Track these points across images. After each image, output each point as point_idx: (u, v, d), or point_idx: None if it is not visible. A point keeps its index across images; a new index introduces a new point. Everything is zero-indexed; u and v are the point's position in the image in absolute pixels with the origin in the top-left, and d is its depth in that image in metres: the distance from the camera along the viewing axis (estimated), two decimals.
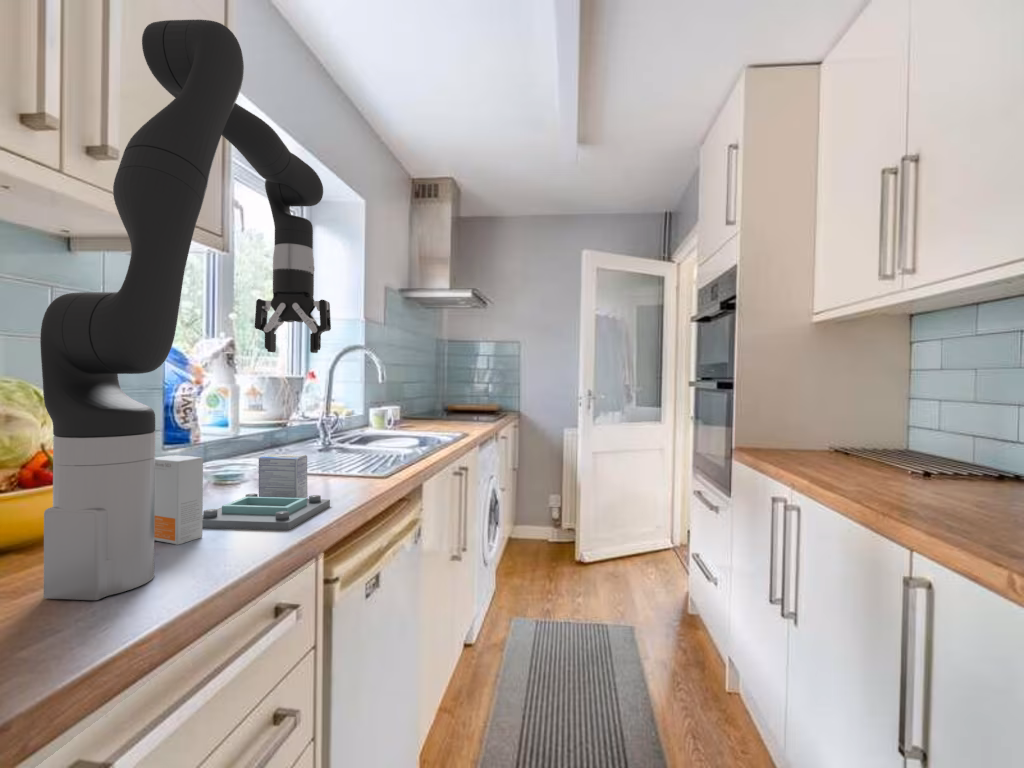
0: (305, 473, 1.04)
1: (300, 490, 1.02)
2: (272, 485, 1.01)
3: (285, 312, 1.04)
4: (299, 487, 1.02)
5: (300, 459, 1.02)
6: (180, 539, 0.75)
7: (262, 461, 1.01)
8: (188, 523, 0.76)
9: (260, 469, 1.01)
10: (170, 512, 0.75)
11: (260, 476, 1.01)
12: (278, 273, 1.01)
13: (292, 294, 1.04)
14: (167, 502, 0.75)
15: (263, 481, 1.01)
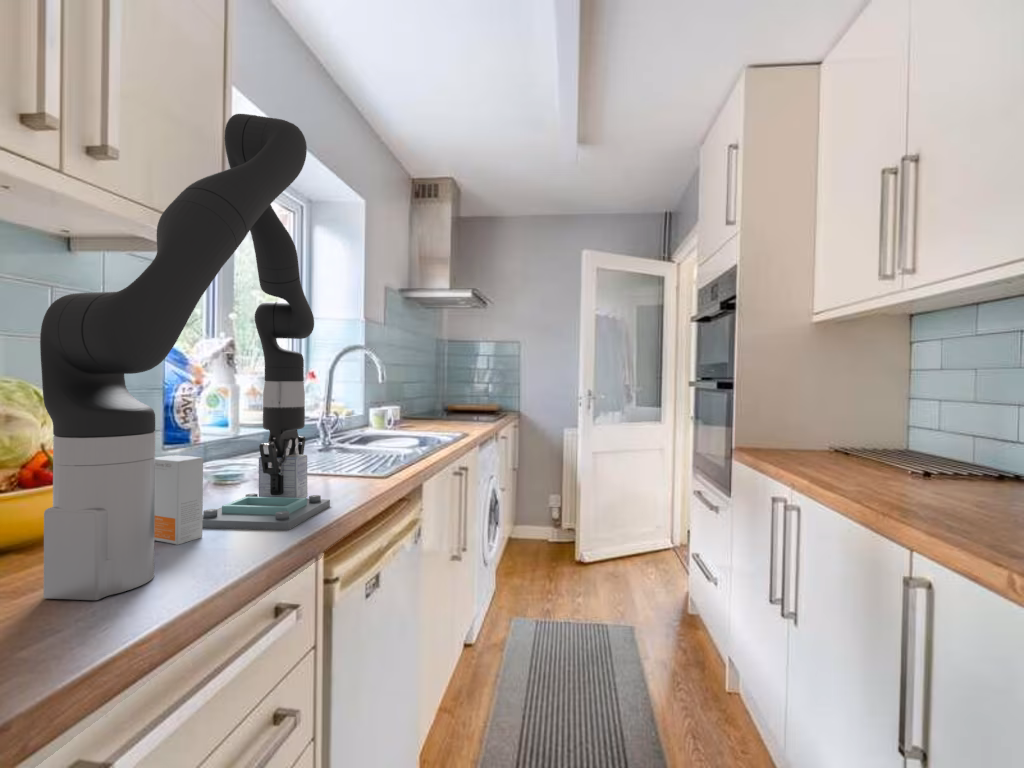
0: (305, 473, 1.04)
1: (300, 490, 1.02)
2: None
3: None
4: (299, 486, 1.02)
5: (300, 459, 1.02)
6: (180, 539, 0.75)
7: None
8: (188, 523, 0.76)
9: (260, 469, 1.01)
10: (170, 512, 0.75)
11: (260, 476, 1.01)
12: (297, 411, 1.02)
13: (290, 430, 1.04)
14: (167, 502, 0.75)
15: (263, 481, 1.01)
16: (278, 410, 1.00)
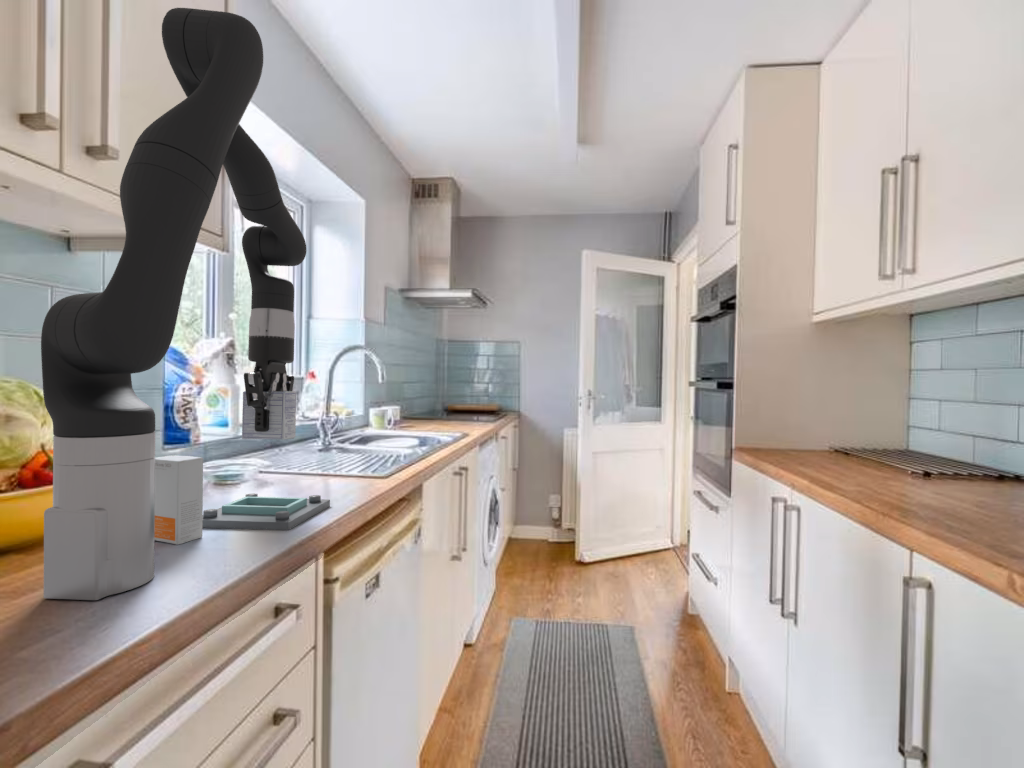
0: (293, 411, 0.96)
1: (287, 428, 0.94)
2: None
3: None
4: (286, 423, 0.94)
5: (288, 393, 0.94)
6: (180, 539, 0.75)
7: None
8: (188, 523, 0.76)
9: (244, 404, 0.94)
10: (170, 512, 0.75)
11: (244, 411, 0.94)
12: (286, 342, 0.94)
13: (278, 363, 0.96)
14: (167, 502, 0.75)
15: (247, 417, 0.93)
16: (265, 339, 0.92)
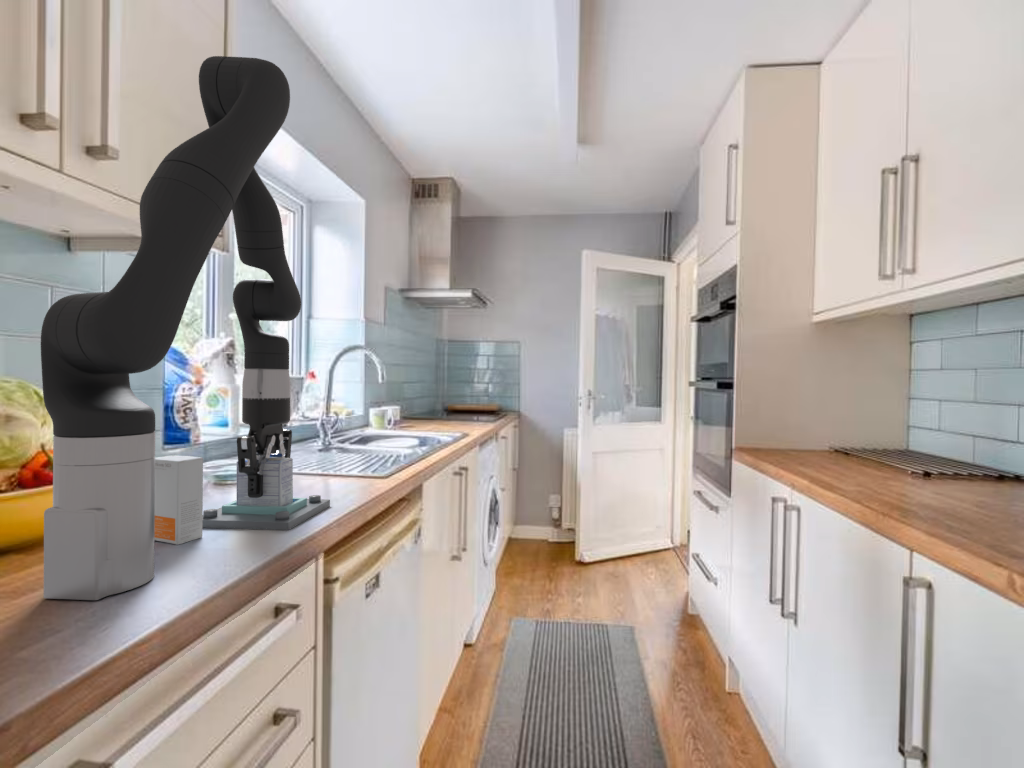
0: (290, 478, 0.92)
1: (284, 498, 0.90)
2: None
3: None
4: (283, 494, 0.89)
5: (284, 463, 0.90)
6: (180, 539, 0.75)
7: None
8: (188, 523, 0.76)
9: (238, 474, 0.89)
10: (170, 512, 0.75)
11: (238, 482, 0.89)
12: (281, 403, 0.89)
13: (274, 424, 0.91)
14: (167, 502, 0.75)
15: (242, 488, 0.89)
16: (259, 402, 0.87)
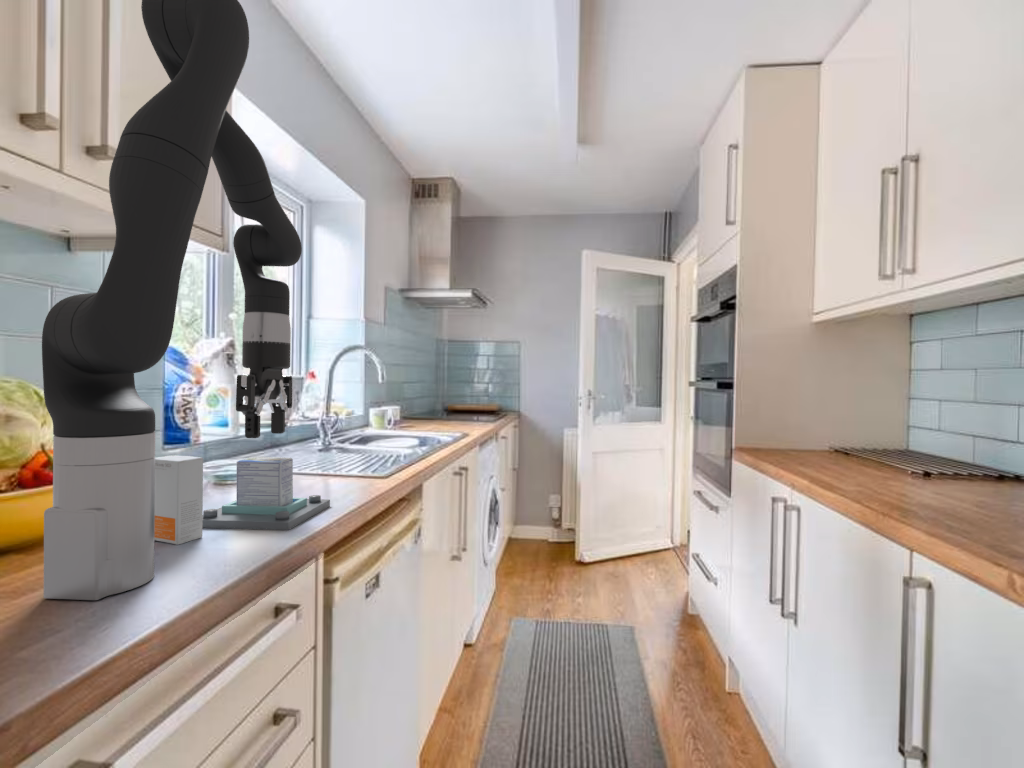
0: (290, 478, 0.92)
1: (284, 498, 0.90)
2: (253, 493, 0.89)
3: None
4: (283, 494, 0.89)
5: (284, 463, 0.90)
6: (180, 539, 0.75)
7: (241, 466, 0.89)
8: (188, 523, 0.76)
9: (238, 474, 0.89)
10: (170, 512, 0.75)
11: (238, 482, 0.89)
12: (282, 347, 0.89)
13: (274, 370, 0.91)
14: (167, 502, 0.75)
15: (242, 488, 0.89)
16: (259, 344, 0.87)
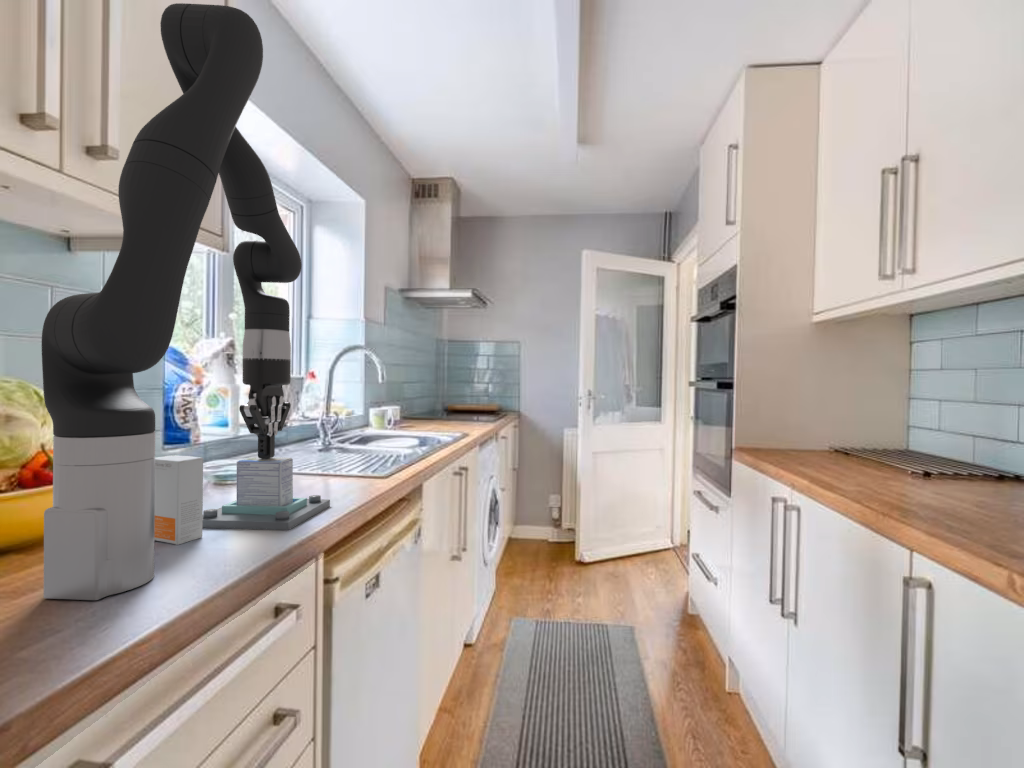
0: (290, 478, 0.92)
1: (284, 498, 0.90)
2: (253, 493, 0.89)
3: None
4: (283, 494, 0.89)
5: (284, 463, 0.90)
6: (180, 539, 0.75)
7: (241, 466, 0.89)
8: (188, 523, 0.76)
9: (238, 474, 0.89)
10: (170, 512, 0.75)
11: (238, 482, 0.89)
12: (282, 364, 0.89)
13: (274, 386, 0.91)
14: (167, 502, 0.75)
15: (242, 488, 0.89)
16: (259, 362, 0.87)
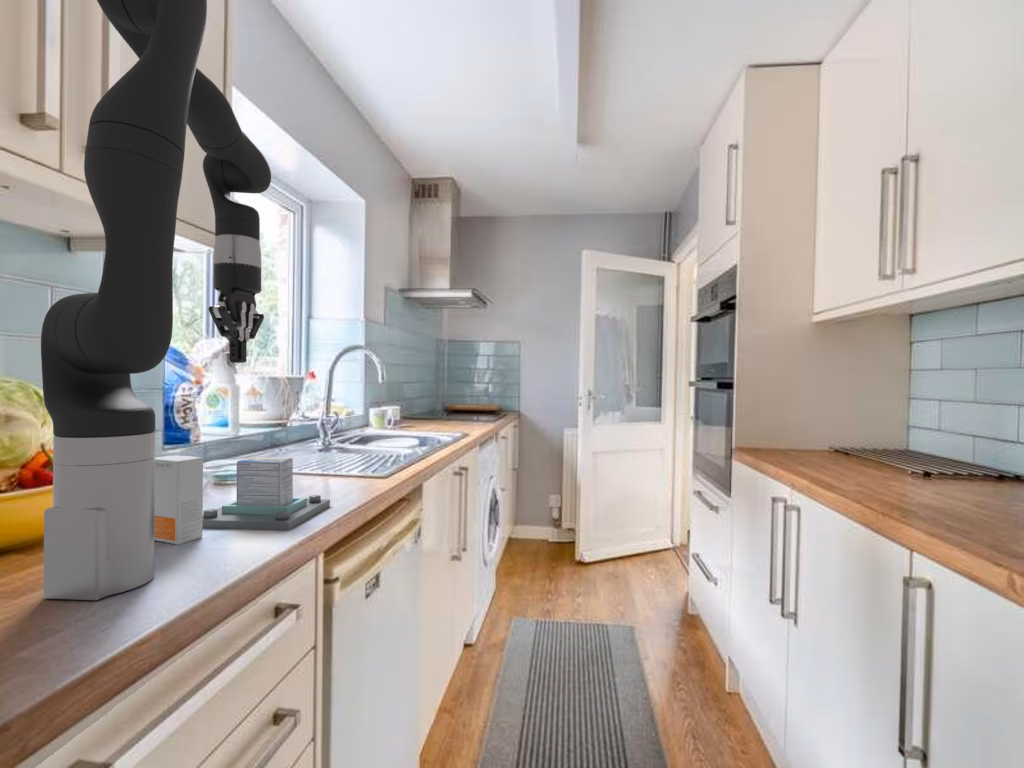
0: (290, 478, 0.92)
1: (284, 498, 0.90)
2: (253, 493, 0.89)
3: None
4: (283, 494, 0.89)
5: (284, 463, 0.90)
6: (180, 539, 0.75)
7: (241, 466, 0.89)
8: (188, 523, 0.76)
9: (238, 474, 0.89)
10: (170, 512, 0.75)
11: (238, 482, 0.89)
12: (251, 270, 0.92)
13: (245, 293, 0.94)
14: (167, 502, 0.75)
15: (242, 488, 0.89)
16: (229, 266, 0.90)
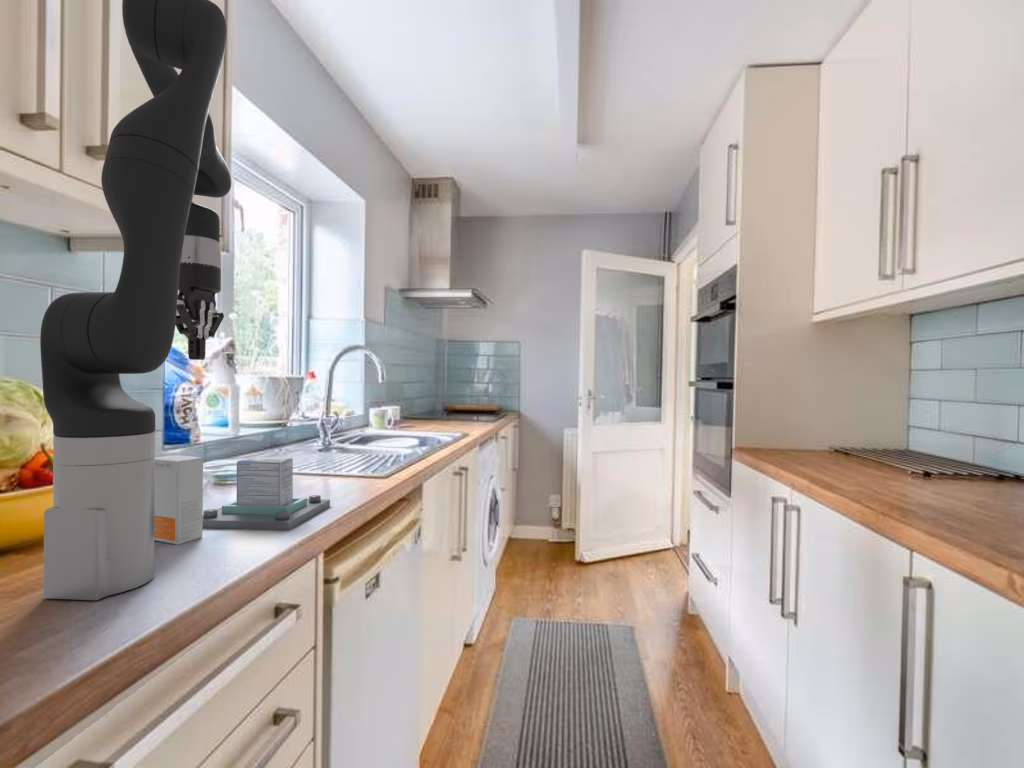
0: (290, 478, 0.92)
1: (284, 498, 0.90)
2: (253, 493, 0.89)
3: None
4: (283, 494, 0.89)
5: (284, 463, 0.90)
6: (180, 539, 0.75)
7: (241, 466, 0.89)
8: (188, 523, 0.76)
9: (238, 474, 0.89)
10: (170, 512, 0.75)
11: (238, 482, 0.89)
12: (210, 270, 0.95)
13: (205, 292, 0.97)
14: (167, 502, 0.75)
15: (242, 488, 0.89)
16: (188, 265, 0.93)
